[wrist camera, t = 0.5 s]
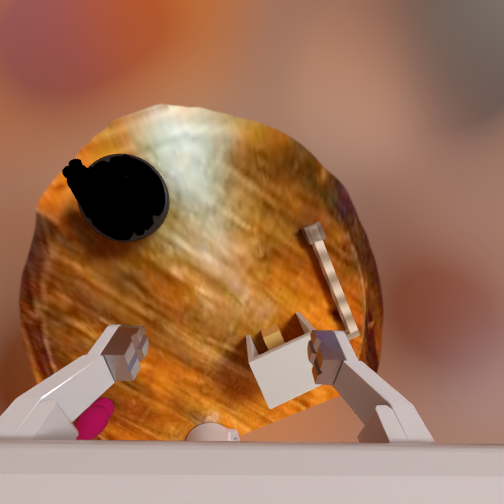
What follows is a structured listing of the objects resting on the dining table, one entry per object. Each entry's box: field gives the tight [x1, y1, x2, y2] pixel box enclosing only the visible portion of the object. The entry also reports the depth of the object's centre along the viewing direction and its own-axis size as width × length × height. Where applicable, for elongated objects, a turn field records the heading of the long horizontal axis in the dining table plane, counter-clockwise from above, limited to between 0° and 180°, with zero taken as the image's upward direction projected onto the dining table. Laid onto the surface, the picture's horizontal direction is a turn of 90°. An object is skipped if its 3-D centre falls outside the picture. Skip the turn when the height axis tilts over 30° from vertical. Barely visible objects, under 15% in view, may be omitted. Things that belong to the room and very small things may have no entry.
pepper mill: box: [75, 398, 114, 440], centre depth 52 cm, size 7×7×20 cm
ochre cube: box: [261, 324, 285, 350], centre depth 62 cm, size 5×5×5 cm
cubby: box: [246, 312, 321, 409], centre depth 58 cm, size 12×17×14 cm
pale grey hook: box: [301, 221, 360, 340], centre depth 63 cm, size 35×12×3 cm, turn 23°
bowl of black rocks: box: [62, 154, 169, 242], centre depth 50 cm, size 20×20×19 cm
